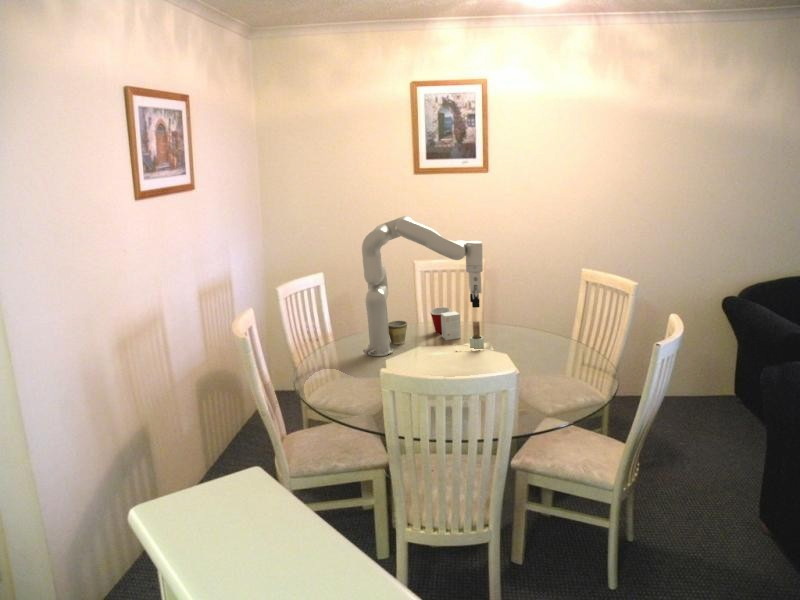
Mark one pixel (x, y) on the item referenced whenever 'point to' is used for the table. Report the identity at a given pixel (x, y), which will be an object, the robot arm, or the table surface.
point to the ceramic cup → (397, 331)
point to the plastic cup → (438, 317)
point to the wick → (476, 330)
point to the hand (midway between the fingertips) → (474, 304)
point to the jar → (477, 343)
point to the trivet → (486, 345)
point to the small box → (450, 325)
